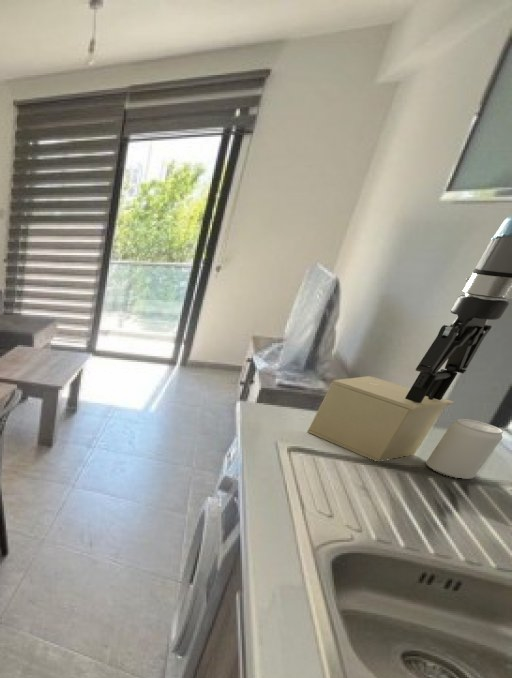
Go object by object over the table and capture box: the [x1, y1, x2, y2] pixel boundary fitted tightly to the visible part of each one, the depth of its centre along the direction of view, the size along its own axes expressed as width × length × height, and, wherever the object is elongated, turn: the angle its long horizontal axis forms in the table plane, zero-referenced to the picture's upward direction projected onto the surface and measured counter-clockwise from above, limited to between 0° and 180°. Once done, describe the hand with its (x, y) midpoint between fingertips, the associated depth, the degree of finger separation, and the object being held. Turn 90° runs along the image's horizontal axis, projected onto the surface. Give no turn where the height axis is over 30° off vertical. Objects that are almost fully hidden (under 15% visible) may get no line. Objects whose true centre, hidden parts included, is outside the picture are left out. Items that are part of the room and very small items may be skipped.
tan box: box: [307, 382, 446, 462], centre depth 120 cm, size 17×15×14 cm
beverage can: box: [425, 418, 504, 480], centre depth 109 cm, size 8×8×12 cm
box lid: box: [331, 369, 455, 410], centre depth 114 cm, size 18×15×8 cm
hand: (423, 399), depth 110 cm, fingers closed on box lid, 7 cm apart
